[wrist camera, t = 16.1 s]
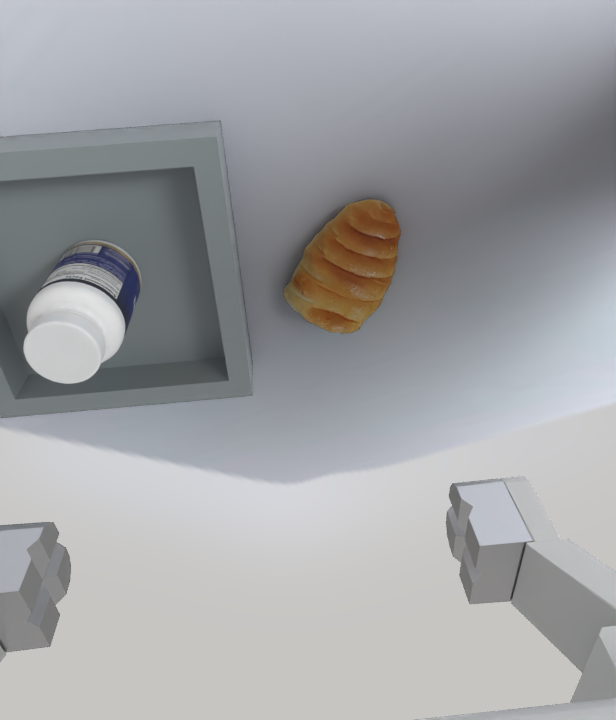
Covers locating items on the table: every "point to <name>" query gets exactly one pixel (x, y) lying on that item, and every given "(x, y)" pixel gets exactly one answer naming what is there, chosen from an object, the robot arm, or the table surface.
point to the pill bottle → (81, 311)
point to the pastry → (346, 267)
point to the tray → (144, 244)
